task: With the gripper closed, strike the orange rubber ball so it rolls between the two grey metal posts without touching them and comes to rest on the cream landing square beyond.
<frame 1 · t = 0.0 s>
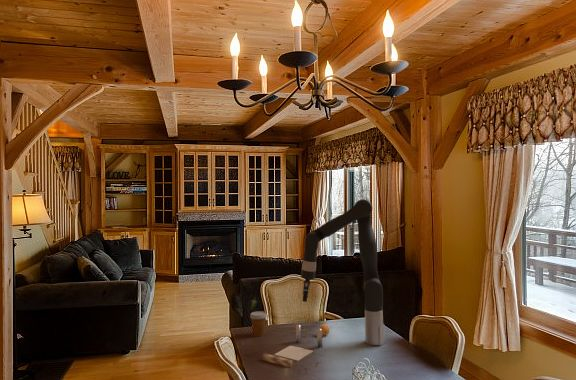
hand: (305, 299, 218), 22 cm above the table, tool pointing down, fingers open, 8 cm apart
near post: (319, 346, 210), on the table
stopper wall: (277, 362, 191), on the table
disposable coffee cup: (258, 335, 230), on the table
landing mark: (294, 353, 202), on the table
far post: (298, 341, 217), on the table
ball: (324, 329, 227), on the table
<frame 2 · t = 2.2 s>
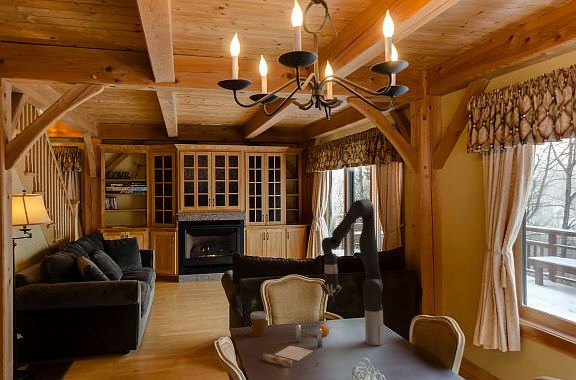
hand: (331, 302, 235), 16 cm above the table, tool pointing down, fingers closed
nothing on the table moved.
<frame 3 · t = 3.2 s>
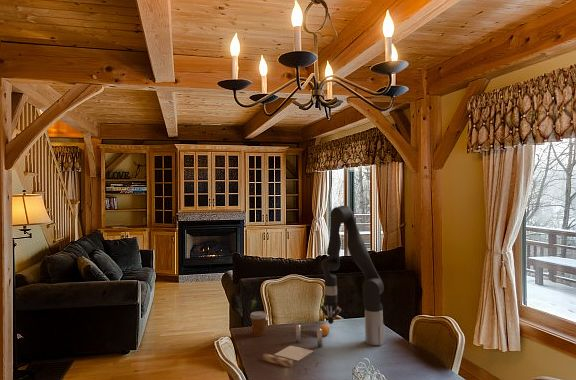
hand: (330, 323, 234), 4 cm above the table, tool pointing down, fingers closed
nothing on the table moved.
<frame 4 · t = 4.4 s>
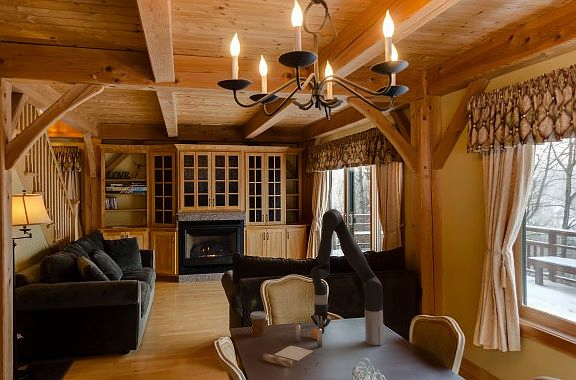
hand: (321, 333, 225), 2 cm above the table, tool pointing down, fingers closed
ball: (316, 333, 221), on the table
everything else where it was.
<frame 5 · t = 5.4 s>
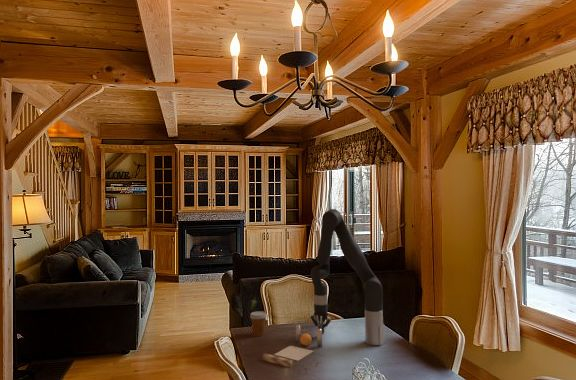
hand: (321, 334, 224), 1 cm above the table, tool pointing down, fingers closed
ball: (305, 339, 212), on the table
everything else where it was.
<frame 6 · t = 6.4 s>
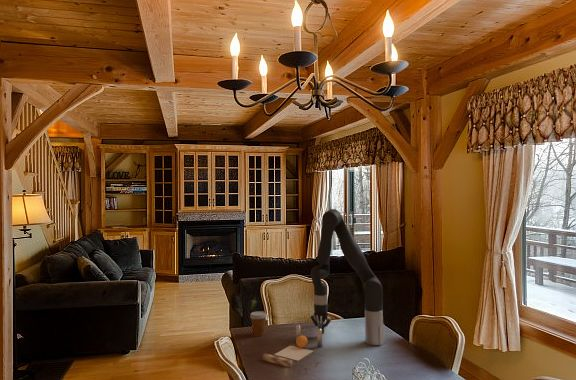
hand: (321, 334, 224), 1 cm above the table, tool pointing down, fingers closed
ball: (302, 341, 209), on the table
everything else where it was.
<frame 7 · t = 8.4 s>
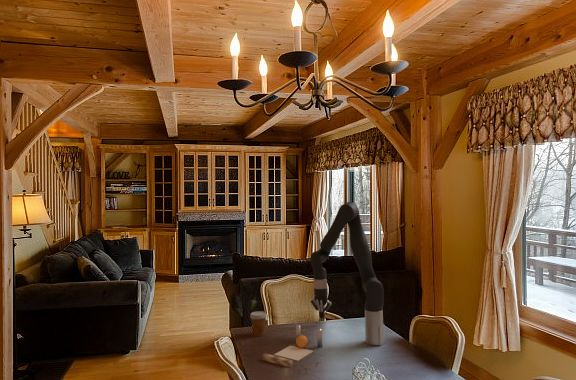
hand: (322, 318, 225), 10 cm above the table, tool pointing down, fingers closed
nothing on the table moved.
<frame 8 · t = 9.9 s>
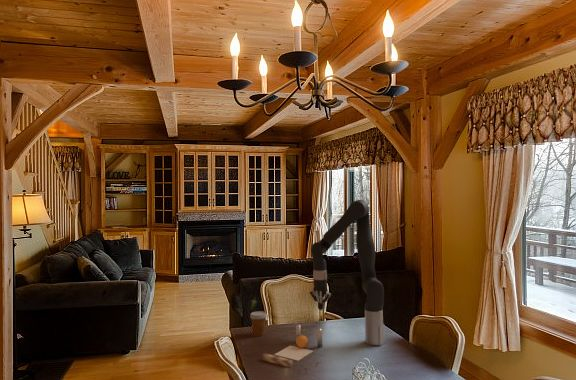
hand: (320, 309, 225), 15 cm above the table, tool pointing down, fingers closed
nothing on the table moved.
at the end: ball 8.4 cm from the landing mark (horizontally); ball never touched near post; ball never touched far post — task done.
